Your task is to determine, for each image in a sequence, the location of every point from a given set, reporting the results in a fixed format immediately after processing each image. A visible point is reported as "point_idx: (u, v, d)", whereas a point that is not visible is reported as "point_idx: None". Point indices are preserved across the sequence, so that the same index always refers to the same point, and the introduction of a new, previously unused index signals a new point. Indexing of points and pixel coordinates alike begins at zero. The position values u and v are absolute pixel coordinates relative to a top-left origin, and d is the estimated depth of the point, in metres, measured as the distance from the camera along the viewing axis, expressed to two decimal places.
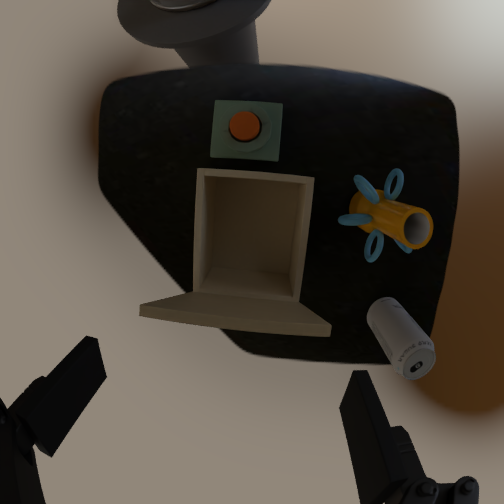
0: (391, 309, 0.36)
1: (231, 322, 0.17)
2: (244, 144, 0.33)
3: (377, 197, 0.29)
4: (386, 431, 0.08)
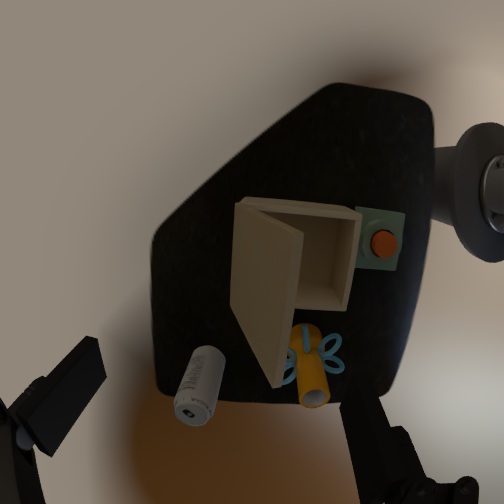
0: (220, 371, 0.43)
1: (288, 321, 0.19)
2: (368, 242, 0.38)
3: (325, 356, 0.37)
4: (386, 431, 0.08)
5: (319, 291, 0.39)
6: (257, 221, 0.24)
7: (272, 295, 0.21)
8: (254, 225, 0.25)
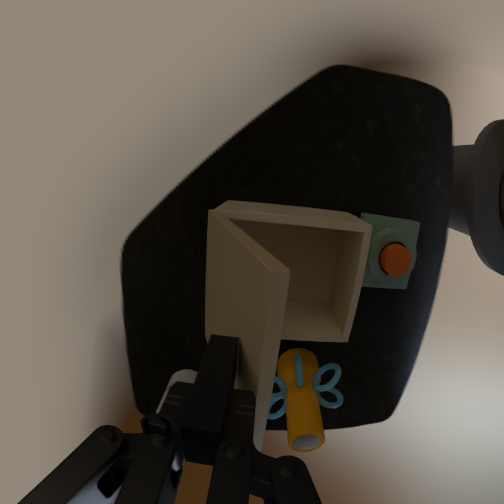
0: None
1: (265, 394, 0.12)
2: (377, 257, 0.31)
3: None
4: (222, 387, 0.11)
5: (316, 316, 0.32)
6: (228, 238, 0.17)
7: (244, 351, 0.14)
8: (225, 244, 0.18)
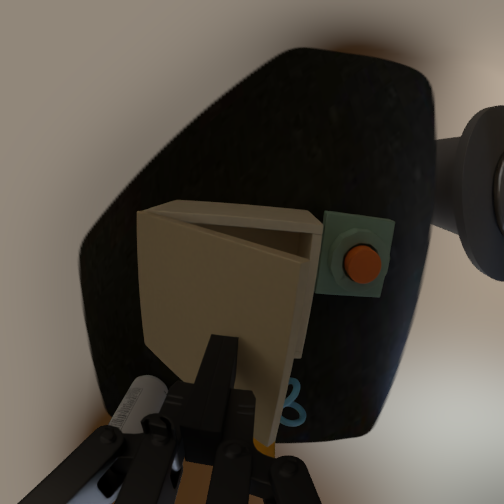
0: (158, 408, 0.33)
1: (286, 376, 0.13)
2: (340, 262, 0.28)
3: None
4: (222, 387, 0.11)
5: None
6: (194, 239, 0.16)
7: (249, 346, 0.14)
8: (189, 245, 0.17)
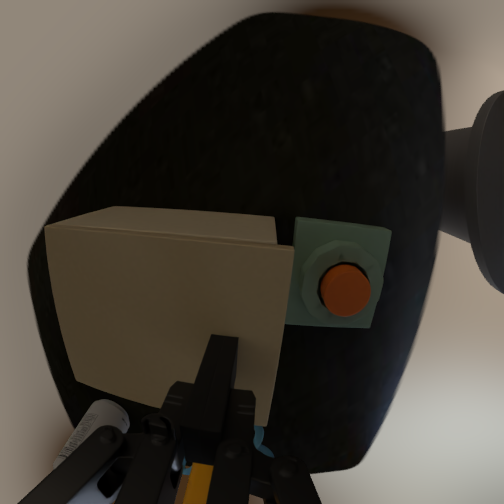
0: None
1: None
2: (314, 287, 0.21)
3: None
4: (222, 387, 0.11)
5: None
6: (151, 247, 0.14)
7: None
8: (142, 255, 0.14)
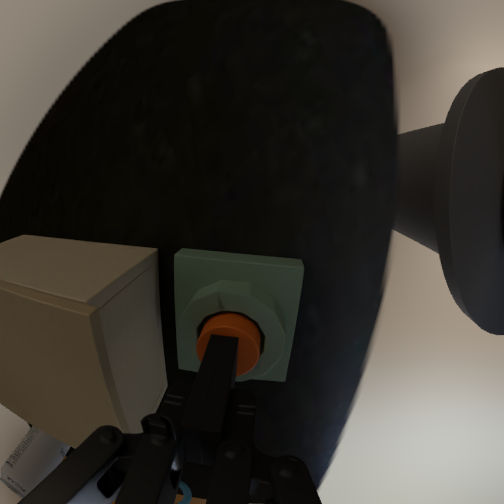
0: (55, 450, 0.22)
1: (120, 414, 0.11)
2: (192, 337, 0.16)
3: None
4: (223, 387, 0.11)
5: None
6: None
7: (76, 393, 0.11)
8: None
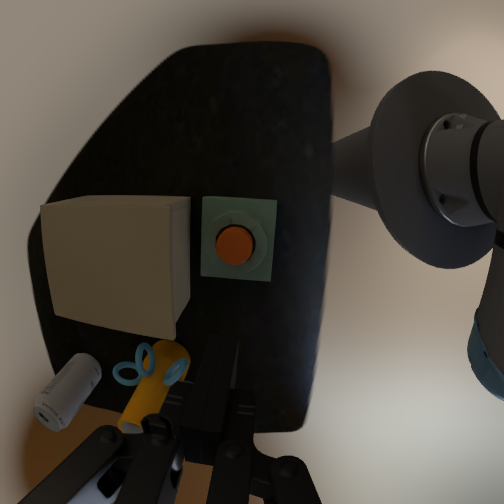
0: (86, 381, 0.34)
1: (171, 277, 0.24)
2: (213, 243, 0.29)
3: (166, 384, 0.29)
4: (222, 387, 0.11)
5: None
6: (98, 211, 0.22)
7: (145, 266, 0.24)
8: (93, 217, 0.23)
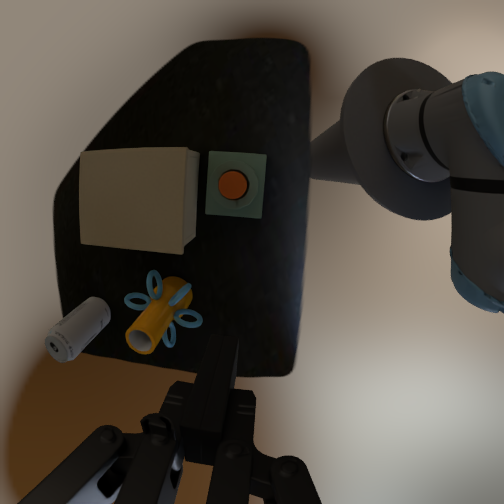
0: (97, 318, 0.42)
1: (184, 201, 0.32)
2: (216, 184, 0.37)
3: (171, 304, 0.37)
4: (222, 387, 0.11)
5: None
6: (131, 153, 0.30)
7: (164, 192, 0.31)
8: (127, 157, 0.30)
